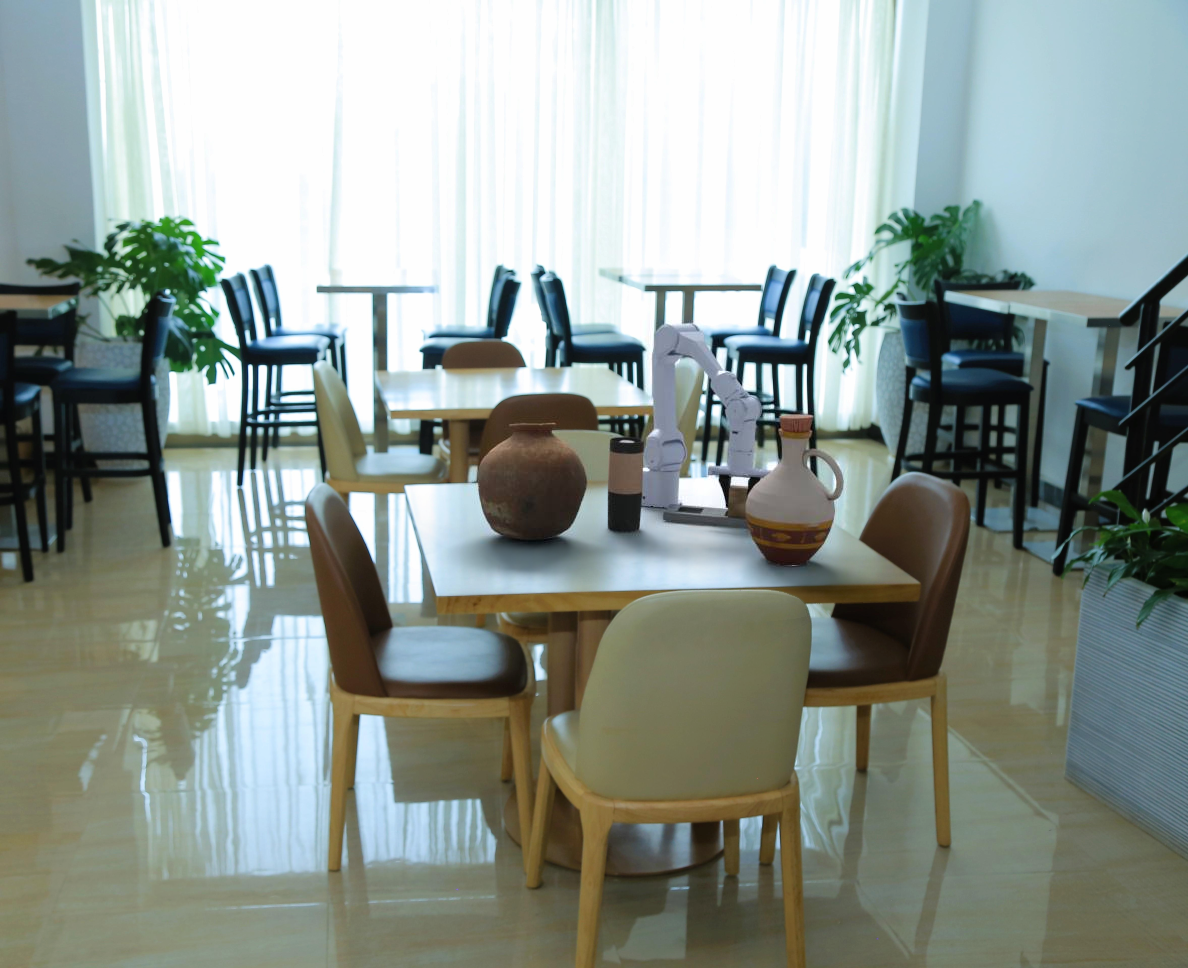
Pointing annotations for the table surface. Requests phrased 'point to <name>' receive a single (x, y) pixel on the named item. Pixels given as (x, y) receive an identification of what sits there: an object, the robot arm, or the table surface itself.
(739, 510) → the walnut peg
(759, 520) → the jug
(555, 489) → the pottery
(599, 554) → the table surface
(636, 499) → the travel mug
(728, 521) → the grey slotted board
